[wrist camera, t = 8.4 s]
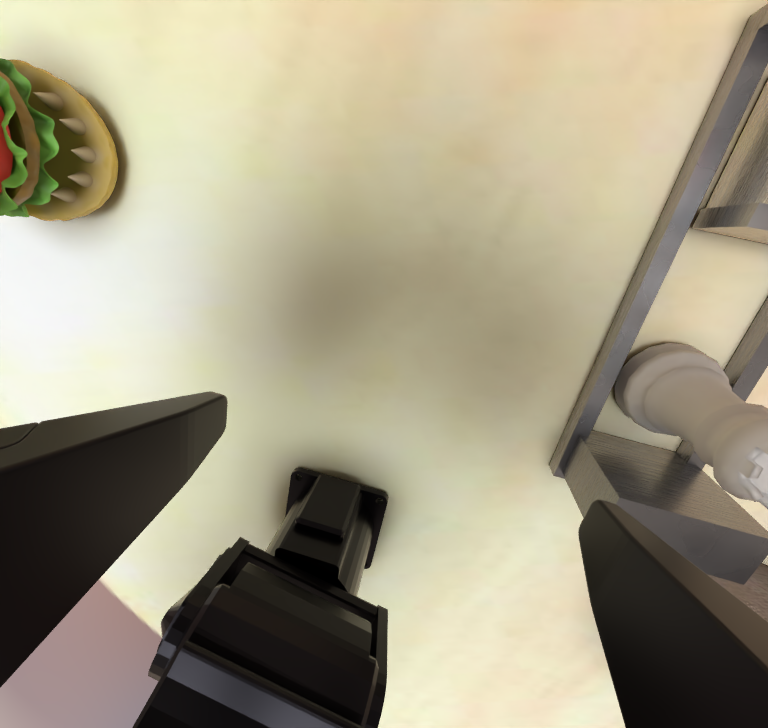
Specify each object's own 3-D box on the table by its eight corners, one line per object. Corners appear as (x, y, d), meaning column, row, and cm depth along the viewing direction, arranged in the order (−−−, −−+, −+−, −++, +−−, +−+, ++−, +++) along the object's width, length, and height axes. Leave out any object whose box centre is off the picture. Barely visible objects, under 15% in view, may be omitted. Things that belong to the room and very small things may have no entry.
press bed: (666, 497, 21) (746, 593, 15) (548, 465, 21) (584, 546, 16) (942, 47, 13) (1299, -90, 8) (749, 16, 14) (953, -132, 8)
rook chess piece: (626, 432, 20) (730, 551, 12) (597, 362, 19) (693, 444, 11) (720, 402, 19) (900, 514, 11) (694, 325, 18) (873, 390, 10)
